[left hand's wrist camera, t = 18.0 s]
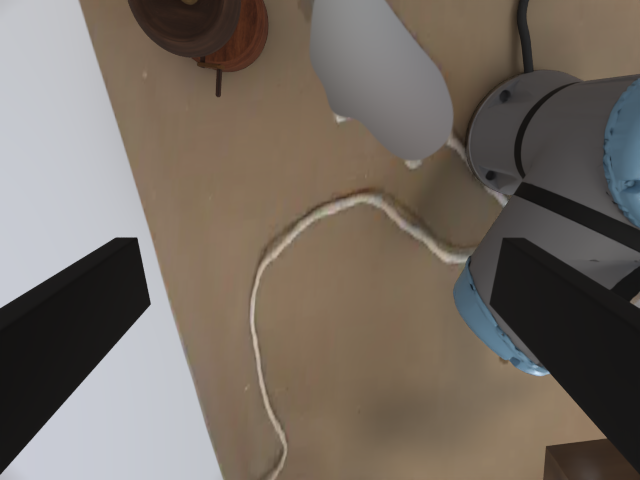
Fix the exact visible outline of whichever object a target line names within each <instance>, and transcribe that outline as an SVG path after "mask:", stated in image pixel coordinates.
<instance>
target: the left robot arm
mask: <svg viewBox="0 0 640 480" xmlns="http://www.w3.org/2000/svg"><path fill="white" fill-rule="evenodd" d="M528 1H529V0H520V1H519V6H518V12H517V24H518V30H519V34H520V39H521V45H522V55H523V64H524V73H521V74H518V75H515V76H513V77H511V78H509V79H507V80H505V81H503V82H501V83H500V84H499V85H497V86H496V87H495V88H493V89H492V90H491V91H490V92H489V93H488V94H487V95H486V96H485V97H484V98H483V100H482V101H481V102H480V104H479V105H478V106H477V108H476V110H475V112H474V113H473V116H472V118H471V120H470V123H469V126H468V129H467V134H466V143H465V148H466V156H467V160H468V163H469V166H470V168H471V170H472V172H473V173H474V175H475V176H476V177H477V178H478V180H479V181H480V182H482V183H483V184H484V185H486V186H487V187H489V188H491V189H493V190H495V191H497V192H500V193H503V194H507V195H512V197H511V198H510V200H509V201H508V203H507V204H506V206H505V207H504V209H503V210H502V212H501V213H500V215H499V216H498V218H497V219H496V220H495V222H494V223H493V225H492V226H491V228H490V229H489V231H488V232H487V234H486V235H485V237H484V238H483V240H482V241H481V243H480V244H479V246H478V247H477V249H476V250H475V251H474V253H473V254H472V255H471V256H469V258H468V259H467V261H466V266H465V268H464V270H463V271H462V273H461V275H460V277H459V278H458V280H457V282H456V283H455V286H454V290H453V294H454V299H455V305H456V307H457V309H458V311H459V313H460V315H461V316H462V318H463V319H464V321H465V322H466V324H467V325H468V326H469V327H470V329H471V330H472V331H473V332H474V333H475V334H476V335H477V336H478V337H479V338H480V339H481V340H482V341H483V342H484V343H485V344H486V345H487V346H488V347H489V348H490V349H491V350H492V351H494V352H495V353H496V354H497V355H499V356H500V357H501V358H503V359H504V360H509V361H510V362H511V363H512V364H513V365H514V366H515V367H516V368H518V369H520V370H522V371H524V372H526V373H528V374H532V375H535V376H544V375H546V374H551V375H552V376H553V377H554V378H555V379H556V380H557V382H558V383H559V384H560V385H561V386H562V387H563V388H564V390H565V391H566V392H567V393H568V394H569V395H570V396H571V397H572V399H573V400H574V401H575V402H576V403H577V404H578V405H579V407H580V408H581V409H582V410H583V411H584V412H585V413H586V414H587V416H588V417H589V418H590V419H591V420H592V421H593V422H594V424H595V425H596V426H597V427H598V428H599V429H600V430H601V431H602V433H603V434H604V435H605V436H606V437H607V438H608V439H609V441H610V442H611V443H612V444H613V445H614V446H615V447H616V448H617V450H618V451H619V452H620V453H621V454H622V455H623V456H624V457H625V459H626V460H627V461H628V462H629V463H630V464H631V465H632V467H633V468H634V469H635V470H636V471H637V472H638V473H639V474H640V74H636V75H628V76H621V77H613V78H605V79H598V80H590V81H583V80H580V79H578V78H576V77H574V76H571V75H569V74H567V73H564V72H560V71H553V70H536V71H533V61H532V51H531V41H530V35H529V30H528V26H527V19H526V12H527V6H528ZM150 305H151V303H150V298H149V293H148V288H147V283H146V278H145V273H144V268H143V263H142V258H141V254H140V249H139V244H138V239H137V238H114V239H113V240H111V241H109V242H108V243H106V244H105V245H103V246H101V247H100V248H98V249H96V250H95V251H93V252H91V253H90V254H88V255H87V256H85V257H83V258H82V259H80V260H79V261H77V262H75V263H74V264H72V265H70V266H69V267H67V268H65V269H64V270H62V271H60V272H59V273H57V274H56V275H54V276H52V277H51V278H49V279H47V280H46V281H44V282H43V283H41V284H39V285H38V286H36V287H34V288H33V289H31V290H29V291H28V292H26V293H25V294H23V295H21V296H20V297H18V298H16V299H15V300H13V301H11V302H10V303H8V304H7V305H5V306H3V307H2V308H0V474H1V473H2V472H3V471H4V470H5V469H6V468H7V467H8V465H9V464H10V463H11V462H12V461H13V460H14V459H15V457H16V456H17V455H18V454H19V453H20V452H21V451H22V450H23V448H24V447H25V446H26V445H27V444H28V443H29V442H30V441H31V439H32V438H33V437H34V436H35V435H36V434H37V432H38V431H39V430H40V429H41V428H42V427H43V426H44V425H45V423H46V422H47V421H48V420H49V419H50V418H51V417H52V416H53V414H54V413H55V412H56V411H57V410H58V409H59V408H60V407H61V405H62V404H63V403H64V402H65V401H66V400H67V399H68V397H69V396H70V395H71V394H72V393H73V392H74V391H75V390H76V388H77V387H78V386H79V385H80V384H81V383H82V382H83V380H84V379H85V378H86V377H87V376H88V375H89V374H90V373H91V371H92V370H93V369H94V368H95V367H96V366H97V365H98V363H99V362H100V361H101V360H102V359H103V358H104V357H105V356H106V354H107V353H108V352H109V351H110V350H111V349H112V348H113V346H114V345H115V344H116V343H117V342H118V341H119V340H120V339H121V337H122V336H123V335H124V334H125V333H126V332H127V331H128V329H129V328H130V327H131V326H132V325H133V324H134V323H135V322H136V320H137V319H138V318H139V317H140V316H141V315H142V314H143V313H144V311H145V310H146V309H147V308H148V307H149V306H150Z"/></svg>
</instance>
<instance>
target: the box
mask: <svg viewBox="0 0 640 480" xmlns="http://www.w3.org/2000/svg"><path fill="white" fill-rule="evenodd" d="M543 480H640V474H639V473H638V472H637V471H636V470H635V469H634V468H633V467H632V465H631V464H630V463H629V462H628V461H627V460H626V459H625V457H624V456H623V455H622V454H621V453H620V452H619V451H618V450H617V448H616V447H615V446H614V445H613V444H612V443H611V442H610V441H609V439H608V438H607V439H599V440H591V441H584V442H576V443H568V444H560V445H552V446H546V453H545V465H544V478H543Z"/></svg>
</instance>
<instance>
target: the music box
mask: <svg viewBox="0 0 640 480" xmlns="http://www.w3.org/2000/svg"><path fill="white" fill-rule="evenodd" d="M128 3H129V6H130V8H131V11H132V13H133V15H134V17H135V19H136V21H137V22H138V24H139V25H140V27H141V28H142V29H143V31H144V32H145V33H146V34H147V35H148V36H149V37H150V38H151V39H152V40H153V41H154V42H155V43H156V44H158V45H159V46H160V47H162V48H163V49H165V50H167V51H169V52H171V53H173V54H176V55H179V56H183V57H191V58H192V59H194V60H195V61H197V62H198V64H197V65H198V66H200V67H202V68H212V69H214V70H217V78H216V96H217V97H220V96H221V80H222V71H223V72H233V71H238V70H241V69H244V68H246V67H247V66H249V65H250V64H252V63H253V62H254V61H255V60H256V59H257V58H258V56H259V55H260V53H261V52H262V50H263V48H264V45H265V43H266V39H267V35H268V16H267V11H266V7H265V4H264V2H263V0H128Z"/></svg>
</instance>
